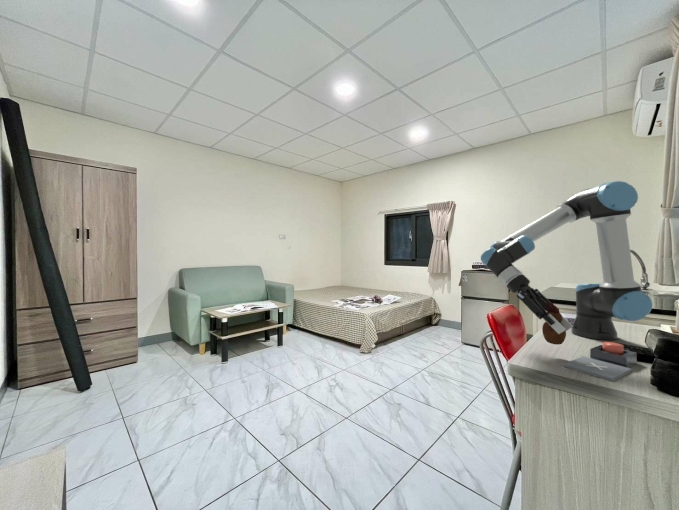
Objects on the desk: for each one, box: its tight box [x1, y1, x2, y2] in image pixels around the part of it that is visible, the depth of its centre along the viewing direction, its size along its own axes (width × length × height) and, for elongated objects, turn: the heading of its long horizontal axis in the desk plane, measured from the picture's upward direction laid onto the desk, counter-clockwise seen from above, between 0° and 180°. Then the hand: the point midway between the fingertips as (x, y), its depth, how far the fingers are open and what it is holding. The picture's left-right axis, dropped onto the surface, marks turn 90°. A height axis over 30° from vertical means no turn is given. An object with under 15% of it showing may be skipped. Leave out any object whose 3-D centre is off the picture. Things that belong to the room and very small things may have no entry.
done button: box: [602, 341, 625, 355], centre depth 94 cm, size 5×5×3 cm
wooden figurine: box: [541, 300, 567, 345], centre depth 99 cm, size 7×6×15 cm
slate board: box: [562, 355, 632, 382], centre depth 88 cm, size 14×12×1 cm
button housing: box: [589, 344, 638, 368], centre depth 94 cm, size 9×9×4 cm
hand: (566, 330), depth 96 cm, fingers closed on wooden figurine, 6 cm apart
